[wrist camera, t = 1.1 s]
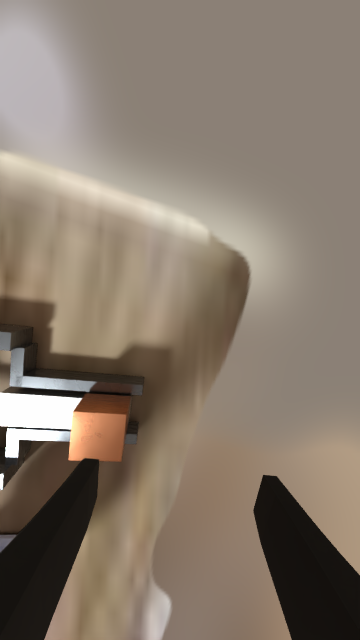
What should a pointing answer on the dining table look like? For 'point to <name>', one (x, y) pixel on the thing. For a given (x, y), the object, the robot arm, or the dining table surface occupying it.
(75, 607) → the dining table surface
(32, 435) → the socket
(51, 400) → the orange block
